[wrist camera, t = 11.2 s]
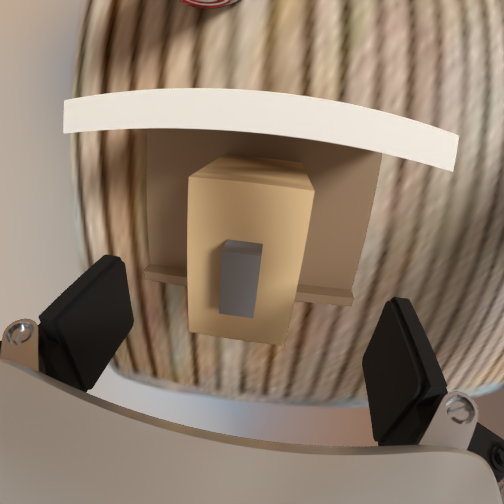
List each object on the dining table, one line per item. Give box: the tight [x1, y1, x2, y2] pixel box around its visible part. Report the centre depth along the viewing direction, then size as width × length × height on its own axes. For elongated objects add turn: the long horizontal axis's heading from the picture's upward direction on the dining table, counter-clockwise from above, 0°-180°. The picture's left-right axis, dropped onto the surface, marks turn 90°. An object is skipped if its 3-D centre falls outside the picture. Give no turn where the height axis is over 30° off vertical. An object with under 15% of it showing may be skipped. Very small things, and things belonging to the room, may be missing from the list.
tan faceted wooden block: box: [187, 154, 315, 346], centre depth 16 cm, size 5×8×9 cm, turn 175°
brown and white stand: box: [63, 88, 459, 306], centre depth 17 cm, size 16×13×12 cm
